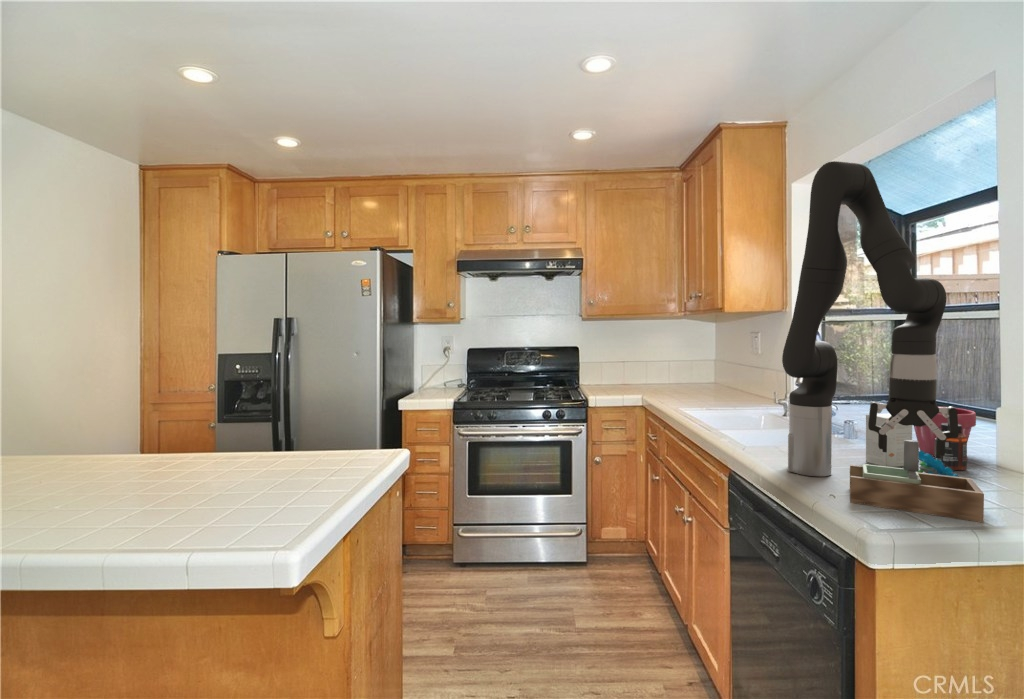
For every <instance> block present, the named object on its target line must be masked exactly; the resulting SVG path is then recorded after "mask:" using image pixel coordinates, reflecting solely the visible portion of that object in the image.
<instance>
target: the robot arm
mask: <svg viewBox="0 0 1024 699" xmlns="http://www.w3.org/2000/svg"><path fill="white" fill-rule="evenodd" d="M872 172H873V171H871V169H870V168H869V167H868V166H866V165H865V164H861V163H856V162H847V161H828V162H826V163H824V164H823V165H821V166H820V167H819V169H818V170H817V171H816V173H815V175H814V177H813V180H812V184H811V189H810V199H809V212H808V214H809V215H808V228H807V232H806V233H807V235H806V239H805V240H806V242H805V248H804V254H803V259H802V265H801V269H800V273H799V274H800V275H799V280H798V288H797V289H798V290H797V295H796V300H795V304H794V309H793V315H792V319H791V323H790V326H789V330H788V333H787V336H786V339H785V343H784V347H783V350H782V357H781V360H782V361H781V363H782V367H783V370H784V372H785V373H786V374H787V375H788V376H789V377H792V378H796V379H802V381H801V383H800V385H799V386H798V387H796V388H795V389H794V390H792V391H791V392H790V393H789V397H788V398H789V401H788V403H789V404H788V409H789V410H788V414H789V415H788V418H789V420H788V422H789V423H788V430H789V431H788V435H787V472H790V473H795V474H799V475H801V476H808V477H828V476H831V475H832V468H833V467H832V466H833V465H832V452H833V449H832V448H833V446H832V442H833V441H832V438H833V437H832V434H833V433H832V432H833V431H832V430H833V427H832V426H833V418H832V417H833V415H832V414H833V408H832V407H833V406H832V405H833V399H834V397H835V395H836V392H837V381H838V366H839V365H838V362H839V360H838V355H837V352H836V350H835V348H834V347H833V345H832V344H831V343H829V342H828V341H823V340H817V337H818V333H819V332H818V331H819V330H820V327H821V323H822V321H823V319H824V318H825V316H827V313H828V312H829V311H830V310H831V308H832V307H833V306H834V304H835V303H836V302H837V300H838V299H839V297H840V295H841V293H842V291H843V288H844V283H845V279H846V273H847V267H848V257H847V253H846V250H845V247H844V243H843V240H842V237H841V234H840V230H839V218H840V211H841V206H846V207H847V208H848V209H850V211H851V212H852V213H853V214H854V216H855V217H856V219H857V221H858V223H859V232H860V233H859V241H860V246H861V249H862V252H863V254H864V255H865V257H866V259H867V261H868V262H869V264H870V265H871V267H872V268H873V270H874V272H875V273H876V279H877V283H878V288H879V292H880V295H881V298H882V300H883V302H884V304H886V306H887V307H888V308H889V309H891V310H892V311H895V312H896V313H899V314H906V317H905V320H904V323H903V324H901V325H898V326H896V327H894V328H893V331H892V335H891V355H890V362H889V369H888V375H889V378H888V379H889V380H888V401H887V403H883V402H882V403H881V402H877V401H874V400H873V401H871V402H870V404H869V413H868V414H869V422H868V428H869V430H871V431H875V432H877V433H878V446H879V449H882V452H886V453H887V434H886V433H887V432H888V431H889V430H890V429H891V428H893V427H894V426H895V425H896V424H897V423H899V424H901V425H905V426H908V425H912V426H913V427H914V426H918V427H922V426H924V425H927V426H928V427H929V428H930V429H931V430H932V431H933V433H934V434H935V435H936V438H935V451H934V456H935V457H934V456H933V457H934V459H936V458H941V456H944V454H945V441H946V440H947V439H950V438H957V437H958V416H957V409H956V408H957V407H955V406H952V405H951V406H938V404H937V379H938V376H937V375H938V363H937V355H936V353H937V332H938V330H939V328H940V325H941V322H942V320H943V316H944V312H945V310H946V307H947V306H946V305H947V301H948V300H947V292H946V289H945V286H944V285H943V283H941V282H940V281H939V280H938V279H937V280H936V279H934V278H926V277H925V278H924V277H917V278H916V277H914V276H913V274H912V272H911V270H912V269H913V268H914V266H915V265H916V260H917V259H916V256H915V255H914V253H913V251H912V250H911V248H910V247H909V245H908V244H907V242H906V241H905V239H904V237H902V235H901V233H900V232H899V230H898V229H897V227H896V225H895V224H894V222H893V220H892V218H891V215H890V214H889V212H888V209H887V207H886V204H885V202H884V201H885V200H884V199H883V197H882V195H881V192H880V189H879V187H878V184H877V181H876V179H875V177H874V174H873V173H872ZM883 410H886V411H887V412H888V413H890V414H891V417H890V418H889V419H887V420H886V422H885V423H884V424H883V425H882V426H881V427H880V426H878V425H876V419H877V414H882V411H883ZM939 412H941V413H942V414H943V416H944V417H945V418H947V419H948V431H945V432H942V431H941V430H940V429H939V428H938V427H937V426H936V424H935V423H934V422H933V421H932V419H933V418H934V417H935V416H936V415H937V414H938V413H939Z"/></svg>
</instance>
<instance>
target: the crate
mask: <svg viewBox="0 0 1024 699" xmlns="http://www.w3.org/2000/svg"><path fill="white" fill-rule="evenodd" d="M919 451H920V448H919V442H918V441H917V440H913V439H912V440H904V466H903V467H902V468H901V467H885V466H879V465H875V464H866V463H862V466H863V477H865V478H873V479H881V480H889V481H897V482H905V483H913V484H921V479H920V477H919V475H918V473H917V472H918V471H919V470H920V468H919V467H920V462H919V461H920V460H919Z"/></svg>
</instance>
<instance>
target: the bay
mask: <svg viewBox="0 0 1024 699" xmlns="http://www.w3.org/2000/svg"><path fill="white" fill-rule="evenodd" d="M917 473H918V475H919V477H920V479H921V484H913V483H905V482H897V481H889V480H881V479H873V478H865V477H863V465H857V464H849V501H850V503H851V504H859V505H864V506H871V507H879V508H884V509H885V508H886V509H893V510H899V511H903V512H904V511H906V512H913V513H919V514H924V513H926V514H925V515H931V514H933V515H932V516H937V515H938V517H946V518H952V519H957V520H958V519H959V520H965V521H970V522H971V521H972V522H977V523H978V522H979V523H984V516H985V515H984V512H985V493H984V492H983V490H981V489H980V487H979V486H978V485H977V483H976V482H975V481H974V479H972V478H971V477H970V478H969V477H964V476H963V477H961V476H959V477H954V476H945V475H937V474H928V473H925V472H923V473H919V472H917Z"/></svg>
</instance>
